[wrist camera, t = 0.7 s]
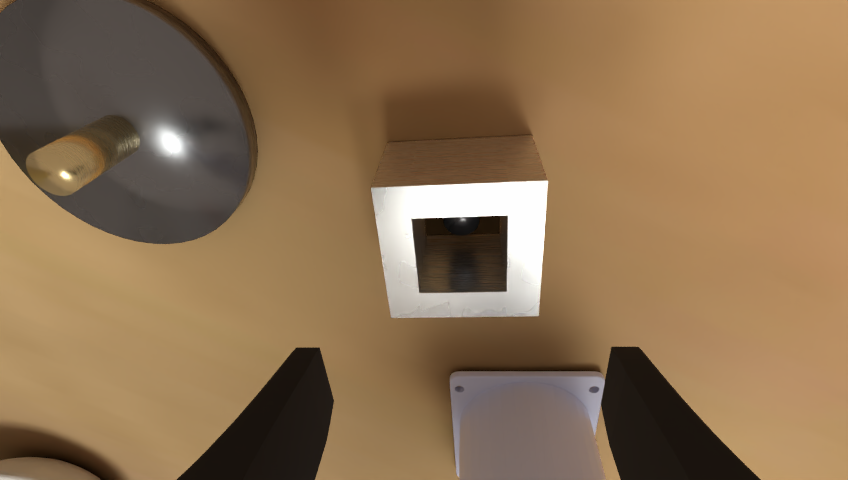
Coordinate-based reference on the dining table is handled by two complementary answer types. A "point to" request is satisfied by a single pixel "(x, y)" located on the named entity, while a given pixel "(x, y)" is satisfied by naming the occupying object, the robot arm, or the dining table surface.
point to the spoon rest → (42, 470)
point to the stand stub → (461, 225)
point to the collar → (469, 254)
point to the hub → (124, 117)
